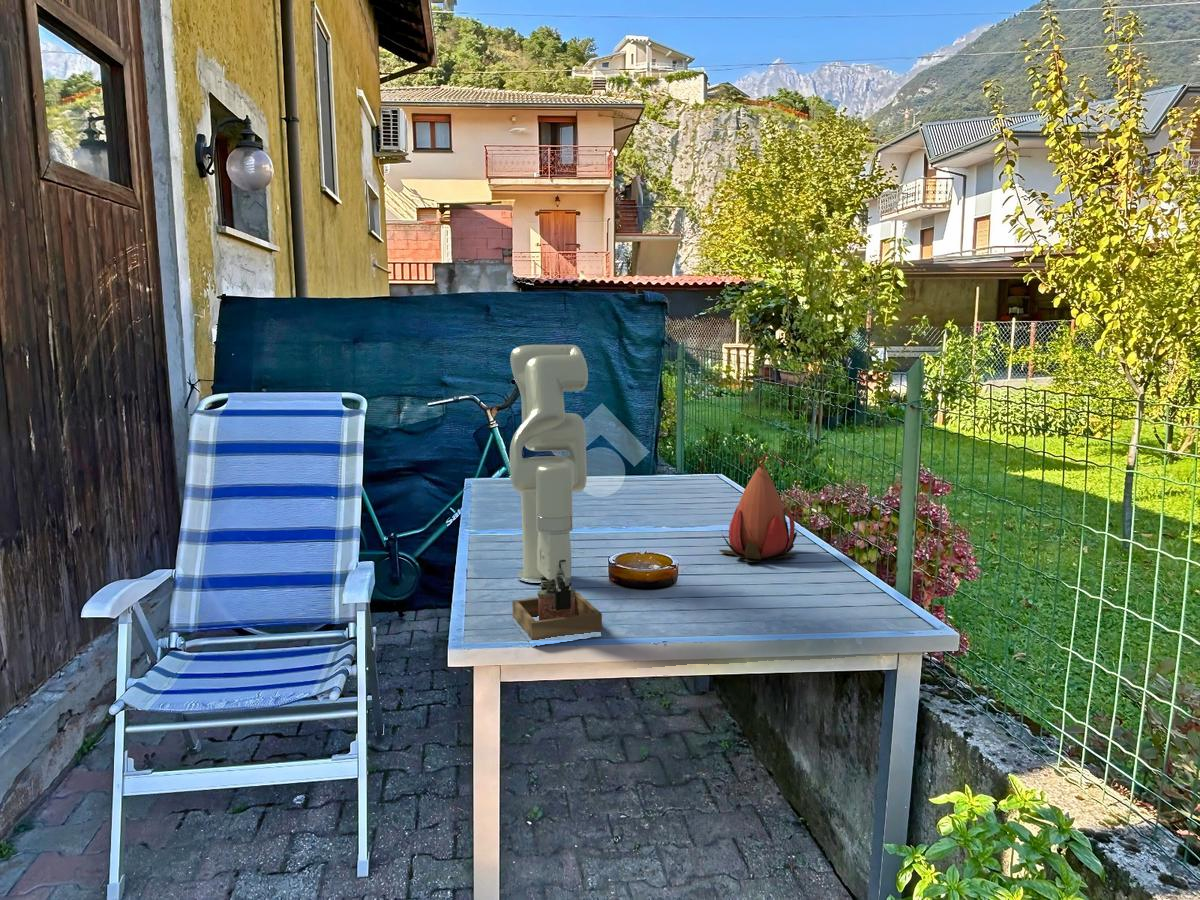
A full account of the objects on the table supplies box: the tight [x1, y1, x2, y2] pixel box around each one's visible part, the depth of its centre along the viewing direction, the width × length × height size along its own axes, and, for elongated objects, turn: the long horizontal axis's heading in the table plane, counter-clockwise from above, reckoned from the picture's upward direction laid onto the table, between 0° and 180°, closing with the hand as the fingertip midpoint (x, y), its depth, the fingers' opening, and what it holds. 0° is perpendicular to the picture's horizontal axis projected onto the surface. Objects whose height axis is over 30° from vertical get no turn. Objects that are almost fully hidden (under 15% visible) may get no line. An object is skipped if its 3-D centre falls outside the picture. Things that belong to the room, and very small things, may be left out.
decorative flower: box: [718, 449, 798, 563], centre depth 223 cm, size 22×23×30 cm
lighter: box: [537, 580, 577, 621], centre depth 168 cm, size 8×3×10 cm, turn 97°
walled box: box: [512, 592, 603, 640], centre depth 169 cm, size 15×15×5 cm
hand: (555, 601), depth 169 cm, fingers open, 9 cm apart
